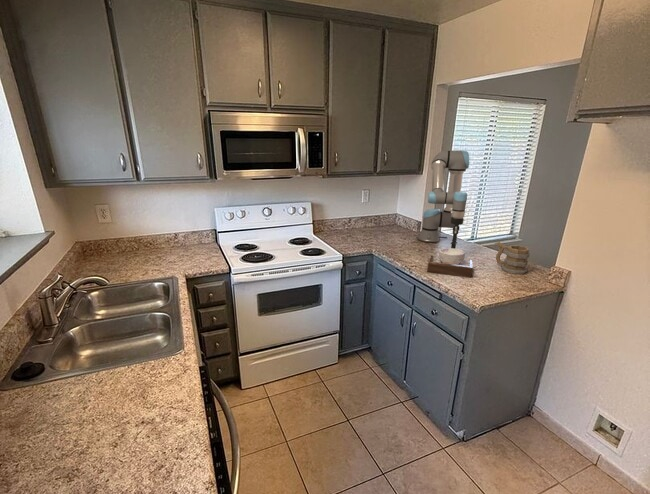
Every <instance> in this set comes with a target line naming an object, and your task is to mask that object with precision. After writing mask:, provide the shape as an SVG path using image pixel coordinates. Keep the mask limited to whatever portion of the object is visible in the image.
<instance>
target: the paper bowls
mask: <svg viewBox="0 0 650 494" xmlns="http://www.w3.org/2000/svg"><path fill="white" fill-rule="evenodd" d="M465 256H466V252H465V251H464V250H462V249H459V248H455V249H454V248H451V247H445V248H441V249H439V251H438V259H439V260H441V263H447V264H456V265H461V264H460V263H461V262H464V261H465Z"/></svg>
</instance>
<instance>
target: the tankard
mask: <svg viewBox="0 0 650 494" xmlns="http://www.w3.org/2000/svg"><path fill="white" fill-rule="evenodd" d="M494 246H495V247H497V246H498V247H499V249H498V250H499V251H498V252H497V253H496V256H495V260H496V263H497V264H498V265H502V266H501V269H502V270H503V271H504V272H506V273H509V274H514V275H525V274H526V273H528V270H529V269H528V268H527V266H528V264H529V261H528V258H529V257H530V254H531V253H530V248H528V247H527V246H524V245H517V244H514V245H509V246H507V245H504V244H503V243H501V242H500V241H497V242H495V243H494ZM504 250H506V251H505V255H506V256H505V258H504V260H502V259H501V256H502V255H503V253H504Z"/></svg>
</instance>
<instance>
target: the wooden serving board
mask: <svg viewBox="0 0 650 494" xmlns="http://www.w3.org/2000/svg"><path fill="white" fill-rule="evenodd" d="M434 256H435V255H430V258H429V261H428V263H427V273H431V274H432V273H433V274H437V275H439V274H440V275H447V276H454V277H455V276H456V277H462V278H470V279H472V275H473V269H474V266H473V259H469V261H468V265H463V264H458V265H456V264H447V263H443V262H438V261H434V258H435V257H434Z"/></svg>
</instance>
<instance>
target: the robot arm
mask: <svg viewBox="0 0 650 494" xmlns="http://www.w3.org/2000/svg"><path fill="white" fill-rule="evenodd" d="M430 167H431V170H432V177H431V191H428V195H427V203H428V204H434V205H445V207H444V208H443V210H442V211H441V209H440V208H429V209H425V210H424V211H423V215H422V224H421V231H420V232H419V235H418V238H417V239H418V241H420V242H422V243H428V244H431V243H432V244H433V243H438V242H439V241H440V239H448V237H447V236H439V235H440V234H439V228H445V229H452V238H451V242H450V245H451V246H450V248H454V249H457V248H456V246H457V244H458V241H457V239H458V235H459V231H460V227H461V225H463V224H464V220H465V214H466V208H467V207H466V206H467V202H468V201H467V200H468V193H467V192H466V191H462V185H463V175H464V174H465V172H466V171H467V169H469V167H470V154H469V151H467V150H442V151H440V152H439V153H437V154H436V155H435V156H434V157H433V158H432V161H431V165H430ZM445 169H448V172H449V178H448V179H449V180H448V187H447V191H444V190H445Z"/></svg>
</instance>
